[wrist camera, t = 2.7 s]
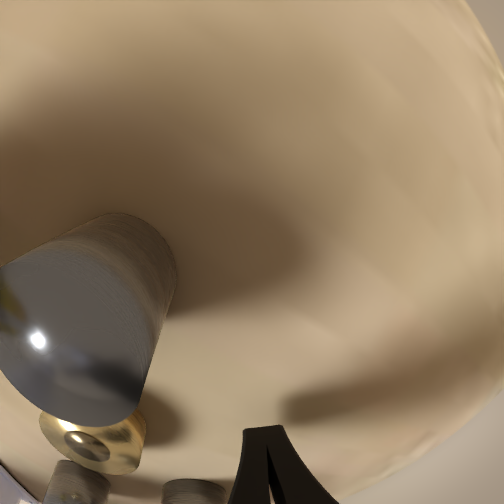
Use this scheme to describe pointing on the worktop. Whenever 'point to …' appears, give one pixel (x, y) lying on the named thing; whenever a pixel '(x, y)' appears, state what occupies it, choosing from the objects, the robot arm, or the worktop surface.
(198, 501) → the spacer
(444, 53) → the worktop surface
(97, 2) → the worktop surface
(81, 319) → the grey metal cylinder
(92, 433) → the nut
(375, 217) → the worktop surface
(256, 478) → the robot arm
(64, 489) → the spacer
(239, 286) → the worktop surface
